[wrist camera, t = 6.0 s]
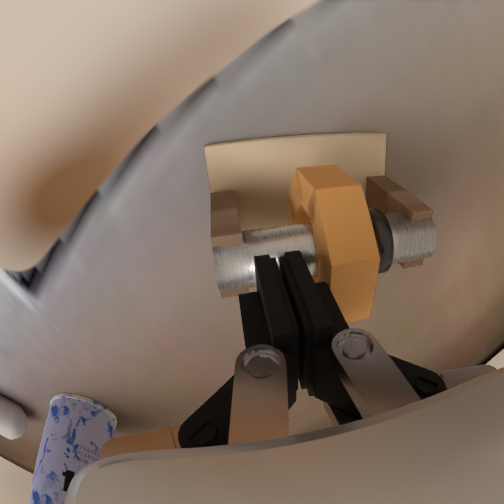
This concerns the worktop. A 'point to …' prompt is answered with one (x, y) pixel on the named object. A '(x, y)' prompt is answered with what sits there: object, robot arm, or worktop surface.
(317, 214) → the o ring
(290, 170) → the base board
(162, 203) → the worktop surface
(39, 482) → the aerosol can
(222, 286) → the pipe
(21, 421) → the tube
